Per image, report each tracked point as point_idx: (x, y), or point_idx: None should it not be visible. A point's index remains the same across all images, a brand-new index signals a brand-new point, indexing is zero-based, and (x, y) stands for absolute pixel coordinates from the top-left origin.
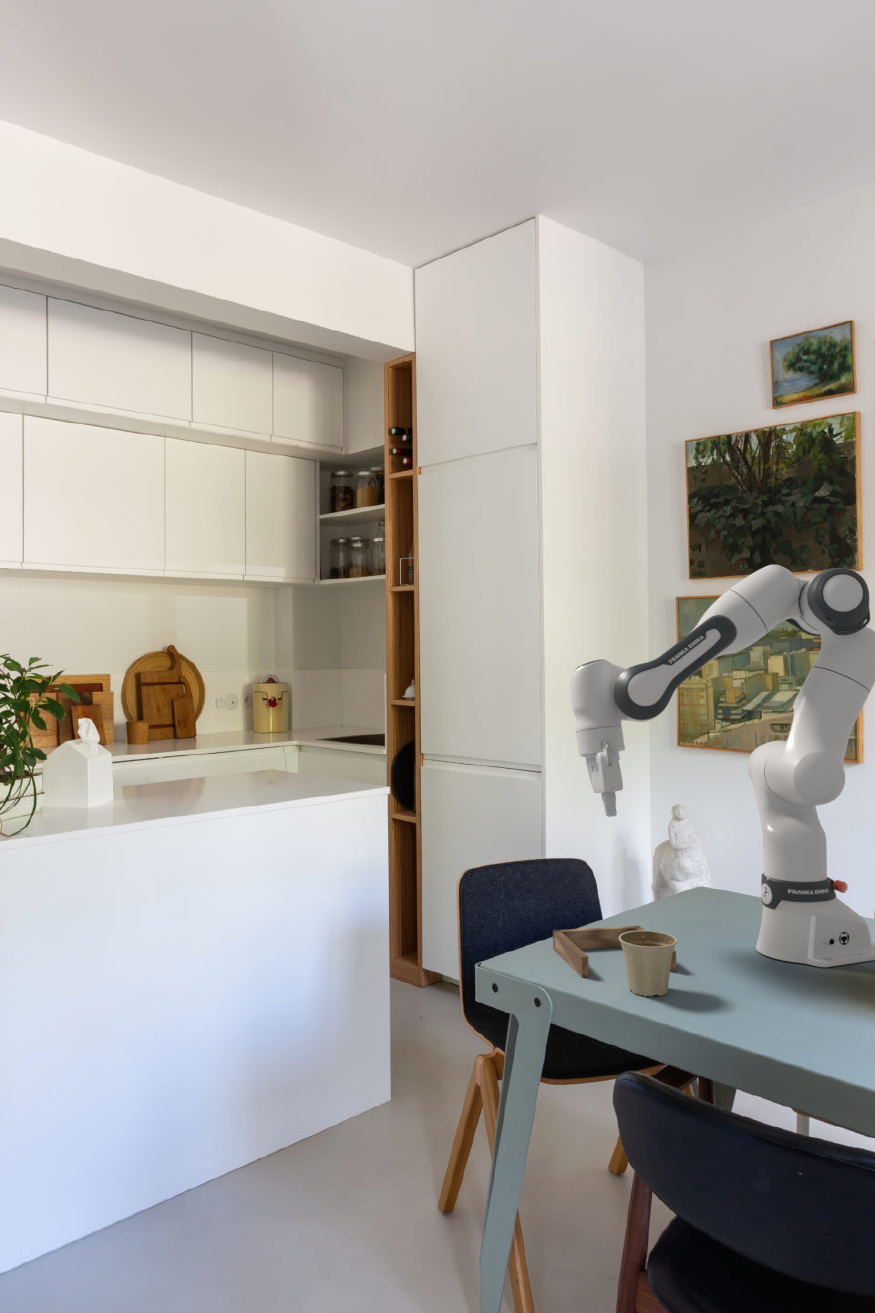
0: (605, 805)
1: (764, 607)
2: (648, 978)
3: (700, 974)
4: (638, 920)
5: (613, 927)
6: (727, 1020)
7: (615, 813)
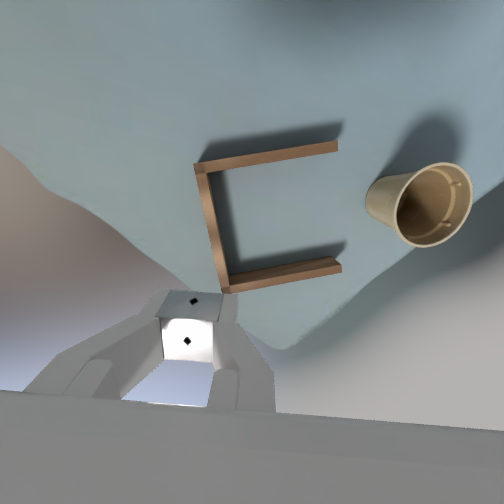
0: (154, 364)
1: None
2: (422, 206)
3: (340, 110)
4: (41, 128)
5: (205, 209)
6: (486, 133)
7: (237, 302)
